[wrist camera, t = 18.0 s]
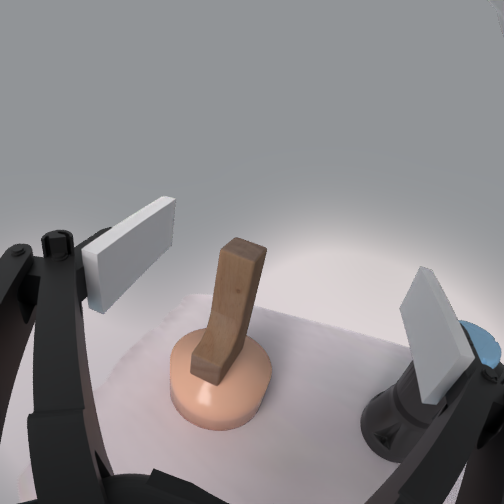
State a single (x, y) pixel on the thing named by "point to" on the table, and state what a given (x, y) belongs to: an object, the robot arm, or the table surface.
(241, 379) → the peach disc
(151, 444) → the table surface
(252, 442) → the table surface
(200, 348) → the wooden block
